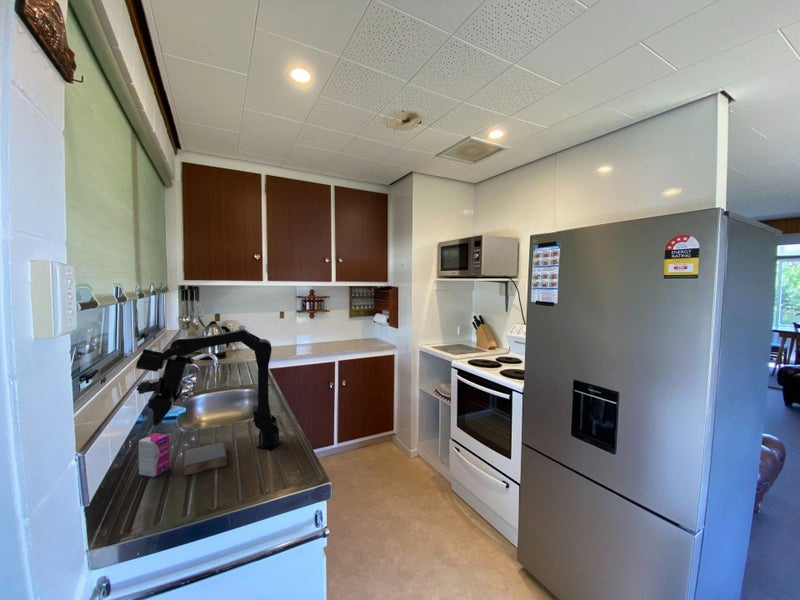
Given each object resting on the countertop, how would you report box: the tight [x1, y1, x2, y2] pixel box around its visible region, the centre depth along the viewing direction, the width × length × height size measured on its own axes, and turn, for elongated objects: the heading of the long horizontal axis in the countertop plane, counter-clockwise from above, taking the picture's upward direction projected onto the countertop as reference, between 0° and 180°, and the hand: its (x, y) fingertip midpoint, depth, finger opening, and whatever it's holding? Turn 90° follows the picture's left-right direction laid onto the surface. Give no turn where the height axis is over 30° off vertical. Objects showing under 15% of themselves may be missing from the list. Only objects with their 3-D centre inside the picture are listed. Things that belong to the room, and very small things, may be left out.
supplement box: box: [138, 432, 170, 479], centre depth 106 cm, size 6×6×12 cm
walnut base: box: [183, 441, 228, 476], centre depth 113 cm, size 12×12×3 cm
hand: (159, 419), depth 110 cm, fingers open, 9 cm apart
